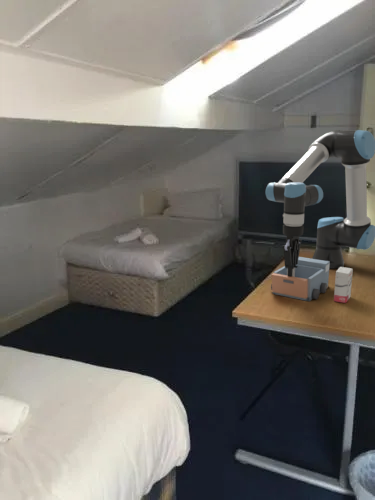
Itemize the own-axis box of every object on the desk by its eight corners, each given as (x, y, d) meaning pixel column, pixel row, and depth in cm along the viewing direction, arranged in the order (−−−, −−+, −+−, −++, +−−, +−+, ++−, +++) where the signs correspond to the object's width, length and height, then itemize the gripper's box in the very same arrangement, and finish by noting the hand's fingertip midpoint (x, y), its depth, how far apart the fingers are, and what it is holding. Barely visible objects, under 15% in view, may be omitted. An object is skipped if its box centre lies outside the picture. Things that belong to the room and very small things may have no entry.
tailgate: (273, 290, 188) (273, 273, 185) (307, 297, 180) (307, 279, 177) (271, 292, 187) (271, 274, 184) (305, 299, 179) (305, 281, 176)
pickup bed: (289, 279, 207) (290, 255, 204) (331, 287, 196) (333, 262, 194) (268, 293, 190) (269, 266, 187) (313, 302, 180) (315, 274, 177)
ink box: (346, 303, 178) (348, 273, 175) (332, 301, 180) (335, 271, 178) (350, 296, 185) (353, 267, 183) (338, 294, 188) (340, 266, 185)
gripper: (290, 220, 184) (287, 277, 190) (277, 226, 174) (274, 286, 180) (309, 222, 179) (305, 281, 186) (296, 228, 170) (293, 290, 176)
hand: (290, 283), depth 183 cm, fingers closed
